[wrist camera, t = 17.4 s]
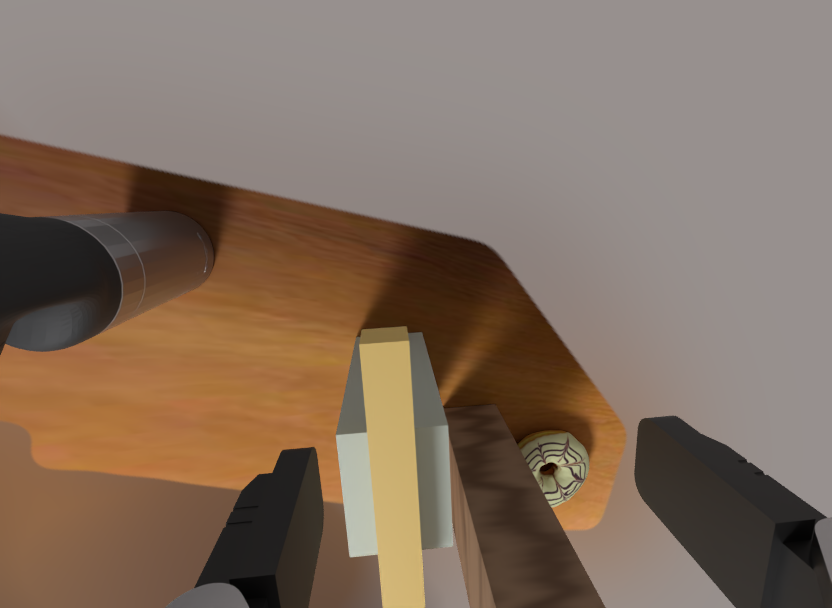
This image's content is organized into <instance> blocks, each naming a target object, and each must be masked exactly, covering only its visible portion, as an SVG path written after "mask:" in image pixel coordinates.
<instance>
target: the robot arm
mask: <svg viewBox="0 0 832 608" xmlns="http://www.w3.org/2000/svg"><path fill="white" fill-rule="evenodd" d="M213 262H214V251H213V247H212V243H211V241H210V239H209V237H208V235H207V233H206V232H205V231H204V229H203V228H202V227H201V226H200V225H199V224H198V223H197V222H195V221H194V220H193V219H191V218H189V217H188V216H186V215H183V214H181V213H178V212H172V211H150V212H126V213H106V214H85V215H68V216H50V217H22V216H15V215H8V214H1V213H0V355H1V352H2V350H3V347H4V345H5V344H7V345H10V346H12V347H16V348H19V349H24V350H29V351H40V352H43V351H55V350H60V349H65V348H68V347H71V346H74V345H76V344H78V343H81V342H83V341H85V340H87V339H89V338H92V337H94V336H95V335H98V334H100V333H102V332H104V331H106V330H108V329H111V328H113V327H115V326H117V325H119V324H121V323H123V322H125V321H127V320H129V319H131V318H134V317H136V316H138V315H140V314H142V313H144V312H146V311H149V310H151V309H153V308H155V307H157V306H159V305H161V304H163V303H166V302H168V301H170V300H172V299H174V298H176V297H179V296H181V295H183V294H185V293H187V292H189V291H191V290H193V289H195V288H197V287H199V286H200V285H201V284H202V283H203V282H205V280H206V279H207V278H208V276H209V275H210V273H211V270H212V268H213ZM634 474H635V482H636V486H637V489H638V491H639V493H640V496H641V497H642V499H643V500H644V501H645V502H646V504H647V505H648V506H649V507H650V509H651V510H652V511H653V512H654V513H655V514H656V515H657V517H658V518H659V519H660V520H661V521H662V522H663V524H664V525H665V526H666V527H667V528H668V529H669V530H670V532H671V533H672V534H673V535H674V536H675V538H676V539H677V540H678V541H679V542H680V543H681V545H682V546H684V548H685V549H686V550H687V552H688V553H689V554H690V555H691V556H692V557H693V558H694V560H695V561H696V562H697V563H698V564H699V565H700V567H701V568H702V569H703V570H704V571H705V572H706V574H707V575H708V576H709V577H710V578H711V579H712V580H713V582H714V583H715V584H716V585H717V586H718V587H719V589H720V590H721V591H722V592H723V593H724V594H725V596H726V597H727V598H728V599H729V600H730V601H731V603H732V604H733V605H734V606H735V607H736V608H832V518H827V517H826V516H824V515H823V514H821V513H820V512H819V511H817V510H816V509H814V508H813V507H811V506H810V505H809V504H807V503H806V502H805V501H803V500H801V498H799V497H798V496H796V495H795V494H794V493H792V492H791V491H789V490H788V489H787V488H785V487H784V486H782V485H781V484H780V483H778V482H777V481H776V480H774V479H773V478H771V477H770V476H768V475H764V473H763V471H762V470H760V469H759V468H757V467H756V466H755V465H753V464H752V463H748V462H747V460H746V459H745V458H744V457H742V456H741V455H739V454H738V453H736V452H735V451H734V450H732V449H731V448H730V447H728V446H727V445H725V444H722V443H720V442H718V441H716V440H714V439H711V438H709V437H707V436H705V435H703V434H700V433H699V432H698V431H696V430H695V429H694V428H692V427H691V426H689V425H688V424H687V423H685V422H684V421H683V420H681V419H680V418H678V417H676V416H665V417H654V418H644V419H642V420H641V421H640V423H639V426H638V436H637V448H636V459H635V473H634ZM323 510H324V509H323V498H322V490H321V482H320V475H319V467H318V459H317V453H316V449H315V448H314V447H310V448H299V449H288V450H282V452H281V453H280V456H279V458H278V461H277V463H276V465H275V468H274V470H273V473H268V474H259V475H258V476H257V477H255V478H254V479H253V480H252V481H251V482H250V483H249V484H248V485H247V486H246V487H245V488H244V489H243V490H242V492H241V494H240V496H239V498H238V500H237V502H236V504H235V506H234V508H233V512H231V514H230V516H229V518H228V520H227V522H226V527H225V528H223V530H222V532H221V534H220V537H219V539H218V541H217V543H216V545H215V547H214V549H213V551H212V553H211V555H210V557H209V559H208V561H207V563H206V565H205V567H204V569H203V571H202V573H201V575H200V577H199V579H198V581H197V584H196V585H195V587H194V589H192V590H190V591H188V592H186V593H184V594H182V595H181V596H180V597H178V598H176V599H175V600H174V601H172V602H171V603H170V604H169V605H168V606H167V607H165V608H308V606H309V601H310V596H311V590H312V585H313V580H314V574H315V569H316V564H317V558H318V553H319V548H320V542H321V537H322V531H323V519H324V517H323V516H324V511H323Z"/></svg>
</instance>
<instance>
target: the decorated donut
mask: <svg viewBox="0 0 832 608" xmlns="http://www.w3.org/2000/svg"><path fill="white" fill-rule="evenodd" d="M517 445H518V447H519V449H520V451H521V452H522V454H523V456H524V458H525V460H526V462H527V463H528V465H529V467H530V469H531V471H532V473H533V475H534V476H535V478H536V480H537V482H538V484H539V486H540V488H541V489H542V491H543V493H544V495H545V497H546V499H547V500H548V502H549V504H550V506H551V507H556V506H558V505H560V504H561V503H563V502H565V501H568V500H569V499H570V498H571V497H572V496H573V495H574V494H575V493H576V492H577V491H578V490H579V489H580V487H581V486H582V485H583V483H584V481H585V479H586V477H587V475H588V471H589V457H588V454H587V451H586V449H585V448H584V446H583V445H582V444H581V443H580V442H579V441H578V440H577V439H576V438H575V437H574V436H572V435H571V434H570V433H568V432H565V431H563V430H548V431H540V432H536V433H532V434H530V435H528V436H526V437H525V438H523V439H522V440H521V441H520V442H519V443H518V444H517ZM549 462H553V463H554V464H553V466H552V467H551V468H550V469H549V470H547V471H545V472H541V471H540V468H541V466H543V465H545V464H547V463H549Z"/></svg>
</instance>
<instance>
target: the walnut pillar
mask: <svg viewBox="0 0 832 608" xmlns="http://www.w3.org/2000/svg"><path fill="white" fill-rule="evenodd" d="M443 409H444V412H445V416H446V420H447V423H448V435H449V459H450V483H451V507H452V523H453V528H454V533H455V537H456V542H457V547H458V552H459V557H460V562H461V566H462V571H463V576H464V581H465V585H466V590H467V595H468V600H469V604H470V608H605V606H604V604H603V602H602V600H601V598H600V597H599V595H598V593H597V591H596V589H595V588H594V586H593V584H592V582H591V580H590V578H589V576H588V575H587V573H586V571H585V569H584V567H583V565H582V563H581V561H580V560H579V558H578V556H577V554H576V552H575V550H574V549H573V547H572V545H571V543H570V541H569V539H568V538H567V536H566V534H565V532H564V530H563V528H562V526H561V524H560V523H559V521H558V519H557V517H556V515H555V513H554V512H553V510H552V508H551V506H550V504H549V502H548V500H547V499H546V497H545V495H544V493H543V491H542V489H541V488H540V486H539V484H538V482H537V480H536V478H535V476H534V475H533V473H532V471H531V469H530V467H529V465H528V463H527V462H526V460H525V458H524V456H523V454H522V452H521V451H520V449H519V447H518V445H517V443H516V441H515V439H514V438H513V436H512V434H511V432H510V430H509V428H508V427H507V425H506V423H505V421H504V419H503V417H502V415H501V414H500V412H499V410H498V408H497V406H496V404H490V405H478V406H467V407H455V408H443Z"/></svg>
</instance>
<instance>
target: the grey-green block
mask: <svg viewBox="0 0 832 608" xmlns="http://www.w3.org/2000/svg"><path fill="white" fill-rule="evenodd" d="M408 337H409V346H410V363H411V380H412V396H413V413H414V430H415V446H416V463H417V480H418V497H419V513H420V530H421V547H422V550H424V549H433V548H443V547H451V546H453V532H452V507H451V483H450V459H449V435H448V423H447V420H446V416H445V412H444V409H443V405H442V402H441V398H440V395H439V391H438V387H437V384H436V380H435V377H434V373H433V370H432V366H431V363H430V359H429V355H428V352H427V348H426V345H425V341H424V338H423V334H422V332H416V333H408ZM359 342H360V337H356V341H355V345H354V350H353V355H352V360H351V365H350V370H349V374H348V379H347V384H346V389H345V394H344V399H343V403H342V408H341V413H340V418H339V423H338V427H337V432H336V440H337V449H338V458H339V467H340V475H341V484H342V493H343V502H344V510H345V519H346V528H347V536H348V545H349V554H350V557H357V556H366V555H376V554H378V548H377V536H376V525H375V514H374V503H373V492H372V481H371V470H370V459H369V448H368V437H367V426H366V415H365V404H364V393H363V382H362V371H361V360H360V349H359Z"/></svg>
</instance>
